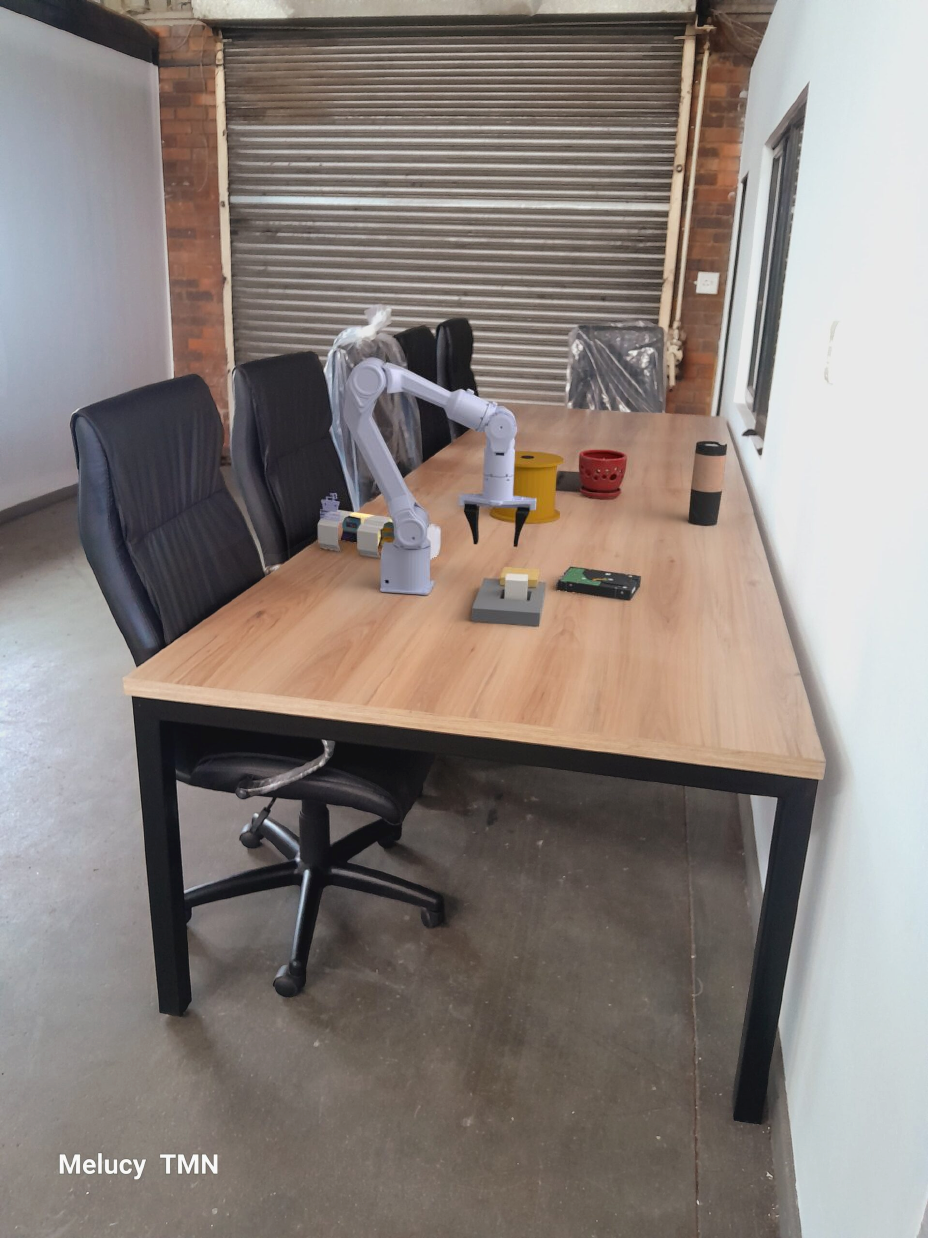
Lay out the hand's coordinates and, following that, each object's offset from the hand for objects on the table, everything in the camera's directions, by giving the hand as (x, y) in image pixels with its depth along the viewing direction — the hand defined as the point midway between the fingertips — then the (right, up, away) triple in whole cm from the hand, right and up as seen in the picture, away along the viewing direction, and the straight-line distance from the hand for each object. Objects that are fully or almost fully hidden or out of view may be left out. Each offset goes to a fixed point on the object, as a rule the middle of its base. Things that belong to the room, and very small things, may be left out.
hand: (495, 544), depth 183 cm
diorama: (-25, 0, +27) cm, 36 cm away
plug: (+3, -12, -6) cm, 14 cm away
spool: (+9, +12, +62) cm, 64 cm away
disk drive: (+21, -9, +7) cm, 24 cm away
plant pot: (+32, +20, +85) cm, 93 cm away
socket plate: (+2, -12, -6) cm, 14 cm away
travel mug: (+54, +10, +59) cm, 81 cm away
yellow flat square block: (+5, -7, +1) cm, 8 cm away
